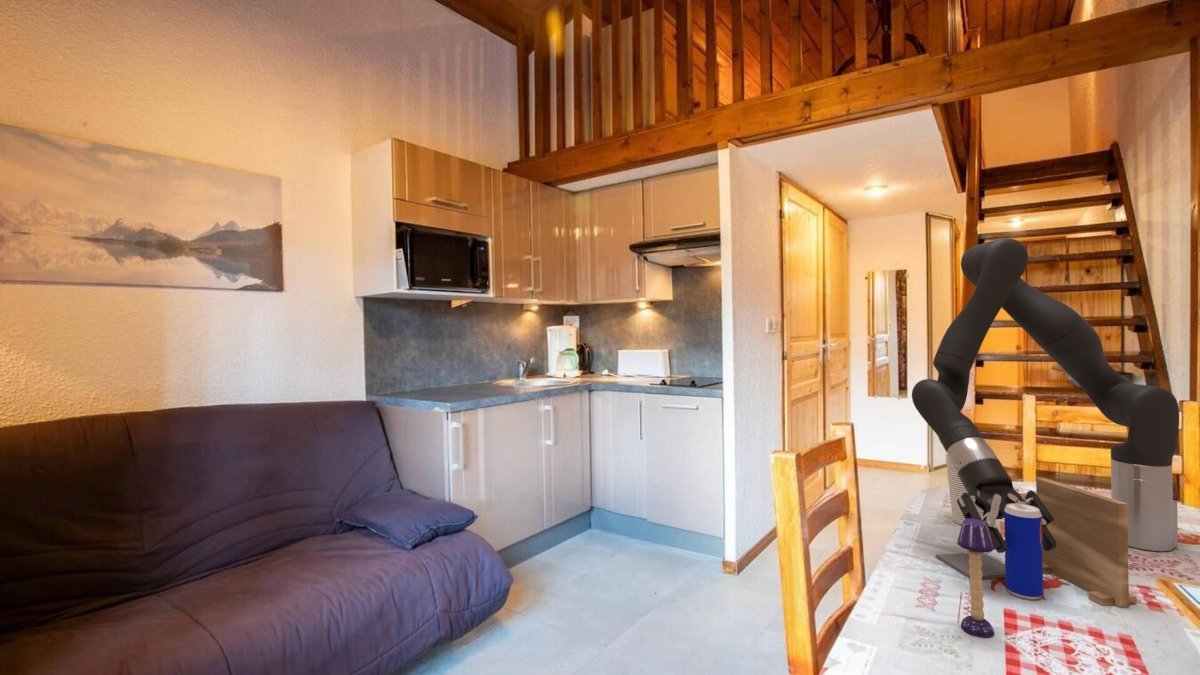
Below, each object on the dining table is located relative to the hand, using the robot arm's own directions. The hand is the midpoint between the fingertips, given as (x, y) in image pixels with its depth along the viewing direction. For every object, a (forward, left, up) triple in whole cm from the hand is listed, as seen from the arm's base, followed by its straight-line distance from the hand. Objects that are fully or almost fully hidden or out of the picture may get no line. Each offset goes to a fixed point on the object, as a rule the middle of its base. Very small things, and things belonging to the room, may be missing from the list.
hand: (1027, 550), depth 95 cm
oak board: (-12, -3, -8) cm, 15 cm away
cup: (-15, -35, -8) cm, 39 cm away
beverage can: (0, -1, -8) cm, 8 cm away
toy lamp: (+16, +9, -8) cm, 20 cm away
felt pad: (0, -12, -8) cm, 14 cm away
